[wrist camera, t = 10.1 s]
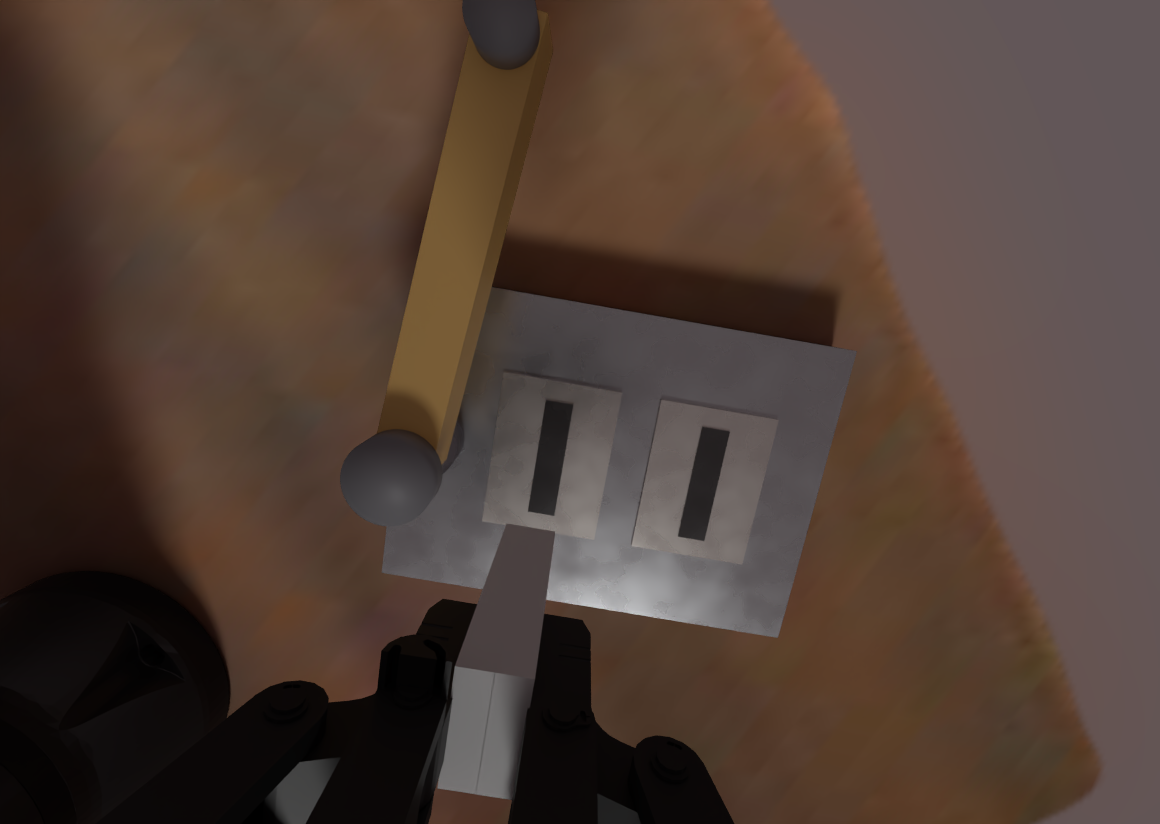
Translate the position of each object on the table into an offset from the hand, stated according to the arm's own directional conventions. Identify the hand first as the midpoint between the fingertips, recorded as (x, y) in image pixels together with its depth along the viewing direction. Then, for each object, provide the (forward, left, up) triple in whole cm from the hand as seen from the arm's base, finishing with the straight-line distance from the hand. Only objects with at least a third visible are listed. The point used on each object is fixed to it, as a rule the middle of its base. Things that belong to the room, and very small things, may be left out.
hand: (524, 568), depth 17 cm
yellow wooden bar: (-5, +8, -9) cm, 13 cm away
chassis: (+3, 0, -14) cm, 15 cm away
